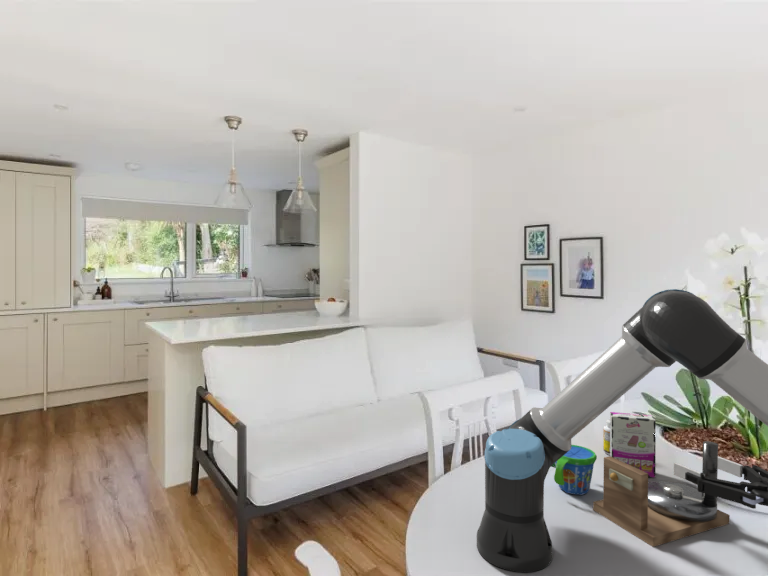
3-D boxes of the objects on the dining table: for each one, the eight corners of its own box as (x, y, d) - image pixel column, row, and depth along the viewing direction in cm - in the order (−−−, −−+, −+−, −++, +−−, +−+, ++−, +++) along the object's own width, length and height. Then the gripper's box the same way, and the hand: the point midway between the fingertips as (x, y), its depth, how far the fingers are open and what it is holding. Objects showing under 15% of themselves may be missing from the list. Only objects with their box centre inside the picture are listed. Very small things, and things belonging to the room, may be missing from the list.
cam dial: (635, 506, 108) (636, 439, 107) (648, 483, 119) (649, 422, 119) (714, 529, 98) (715, 455, 98) (719, 501, 110) (721, 435, 109)
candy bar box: (652, 471, 132) (653, 414, 132) (655, 478, 127) (656, 420, 127) (609, 465, 136) (609, 410, 135) (611, 472, 131) (611, 415, 131)
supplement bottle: (613, 449, 149) (613, 417, 148) (627, 455, 143) (627, 423, 143) (599, 451, 147) (599, 419, 146) (612, 457, 142) (613, 425, 141)
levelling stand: (647, 548, 96) (648, 482, 95) (588, 511, 110) (588, 453, 110) (729, 523, 105) (730, 463, 104) (664, 492, 120) (665, 439, 119)
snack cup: (573, 474, 130) (574, 439, 130) (609, 489, 122) (609, 451, 121) (537, 489, 122) (538, 451, 121) (573, 506, 113) (573, 465, 113)
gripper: (764, 541, 84) (656, 489, 104) (841, 515, 93) (727, 471, 113) (765, 501, 84) (657, 456, 104) (842, 478, 92) (728, 441, 112)
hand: (693, 464), depth 108 cm, fingers open, 12 cm apart
